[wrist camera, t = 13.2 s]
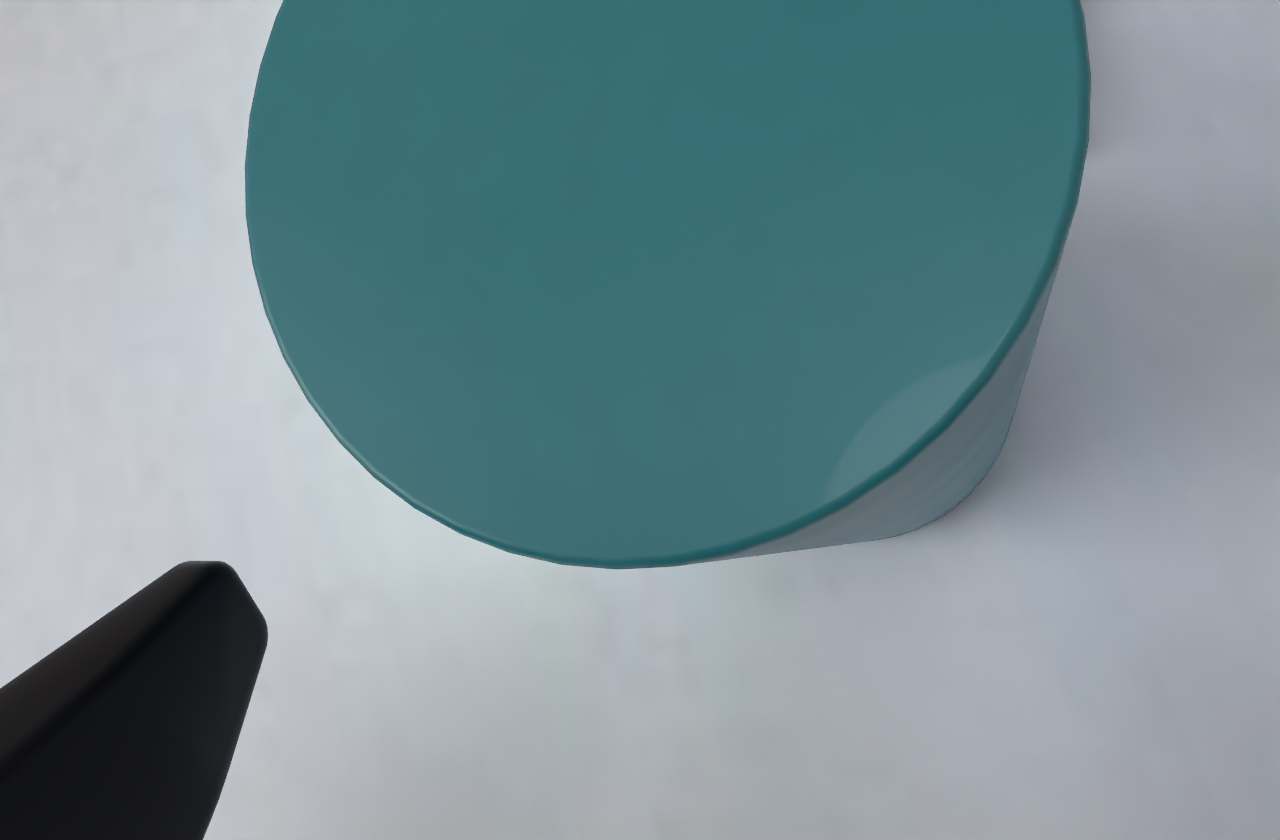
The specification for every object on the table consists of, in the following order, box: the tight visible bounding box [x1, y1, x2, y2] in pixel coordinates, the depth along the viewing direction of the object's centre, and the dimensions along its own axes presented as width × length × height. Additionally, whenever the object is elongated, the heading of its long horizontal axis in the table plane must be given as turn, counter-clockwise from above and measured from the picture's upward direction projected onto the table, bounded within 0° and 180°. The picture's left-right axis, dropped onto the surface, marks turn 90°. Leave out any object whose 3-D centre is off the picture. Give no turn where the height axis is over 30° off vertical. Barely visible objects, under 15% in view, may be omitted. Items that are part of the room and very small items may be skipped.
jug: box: [245, 0, 1091, 569], centre depth 13 cm, size 10×5×12 cm, turn 179°
